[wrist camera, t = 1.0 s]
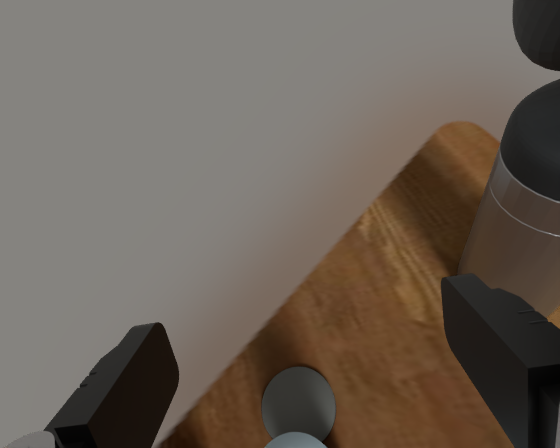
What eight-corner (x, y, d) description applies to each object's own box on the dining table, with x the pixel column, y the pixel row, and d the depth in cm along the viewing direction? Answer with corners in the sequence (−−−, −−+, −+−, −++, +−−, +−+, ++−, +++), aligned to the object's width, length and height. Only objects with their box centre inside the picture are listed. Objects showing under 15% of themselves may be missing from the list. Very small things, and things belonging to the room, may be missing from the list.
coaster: (308, 354, 36) (308, 352, 35) (351, 419, 32) (351, 418, 31) (250, 395, 35) (249, 394, 34) (287, 468, 30) (285, 468, 30)
